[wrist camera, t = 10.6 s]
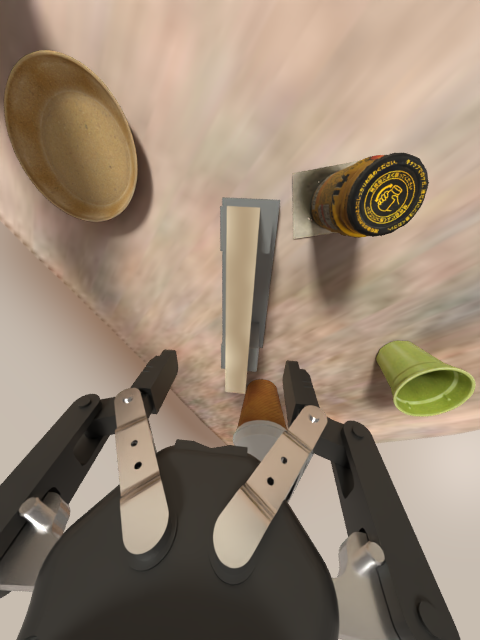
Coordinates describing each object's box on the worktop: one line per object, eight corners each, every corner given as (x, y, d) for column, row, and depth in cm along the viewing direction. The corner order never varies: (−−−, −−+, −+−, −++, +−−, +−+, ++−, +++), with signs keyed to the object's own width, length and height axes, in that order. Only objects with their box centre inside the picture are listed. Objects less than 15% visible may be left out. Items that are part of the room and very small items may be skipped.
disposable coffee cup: (248, 367, 39) (244, 424, 28) (293, 382, 40) (304, 444, 29) (232, 397, 43) (224, 456, 33) (272, 410, 44) (276, 472, 34)
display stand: (223, 339, 36) (214, 372, 29) (224, 198, 25) (209, 192, 18) (262, 342, 36) (262, 377, 28) (279, 200, 25) (286, 196, 18)
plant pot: (436, 356, 34) (487, 397, 26) (382, 382, 37) (413, 425, 30) (410, 320, 31) (458, 355, 24) (355, 352, 35) (381, 391, 27)
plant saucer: (2, 68, 22) (-29, 51, 19) (131, 64, 21) (115, 46, 18) (59, 219, 29) (42, 220, 26) (157, 222, 28) (148, 223, 25)
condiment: (360, 229, 26) (427, 241, 15) (293, 238, 27) (313, 256, 17) (368, 159, 22) (463, 113, 12) (292, 173, 24) (316, 144, 13)
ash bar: (229, 369, 28) (225, 391, 25) (233, 207, 18) (226, 206, 15) (247, 371, 28) (245, 393, 24) (260, 208, 18) (260, 207, 15)
